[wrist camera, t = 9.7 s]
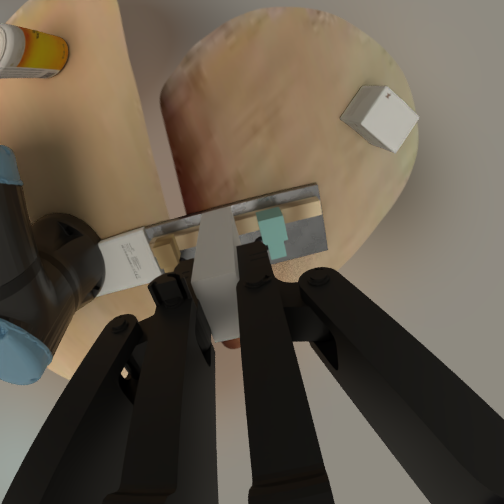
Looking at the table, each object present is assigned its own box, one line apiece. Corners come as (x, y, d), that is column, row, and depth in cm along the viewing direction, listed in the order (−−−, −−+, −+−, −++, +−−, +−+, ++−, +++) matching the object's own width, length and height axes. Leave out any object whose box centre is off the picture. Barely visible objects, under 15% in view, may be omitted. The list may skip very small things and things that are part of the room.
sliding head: (263, 247, 45) (268, 265, 41) (254, 207, 43) (258, 221, 38) (285, 241, 45) (292, 259, 41) (276, 201, 42) (283, 215, 38)
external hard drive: (75, 248, 44) (145, 225, 44) (97, 292, 48) (165, 274, 47) (71, 253, 43) (142, 230, 42) (94, 298, 46) (164, 280, 46)
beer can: (64, 29, 30) (2, 10, 16) (75, 64, 33) (13, 56, 19) (30, 51, 30) (-36, 45, 17) (41, 86, 33) (-27, 90, 20)
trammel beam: (164, 270, 46) (159, 289, 42) (150, 234, 43) (143, 251, 39) (321, 231, 45) (332, 246, 41) (315, 192, 43) (326, 204, 38)
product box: (337, 118, 39) (359, 123, 33) (361, 84, 37) (386, 83, 31) (370, 145, 41) (395, 155, 35) (393, 112, 39) (421, 117, 33)
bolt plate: (170, 285, 48) (169, 289, 47) (146, 226, 44) (144, 229, 43) (325, 246, 48) (327, 250, 47) (315, 182, 43) (317, 184, 42)
